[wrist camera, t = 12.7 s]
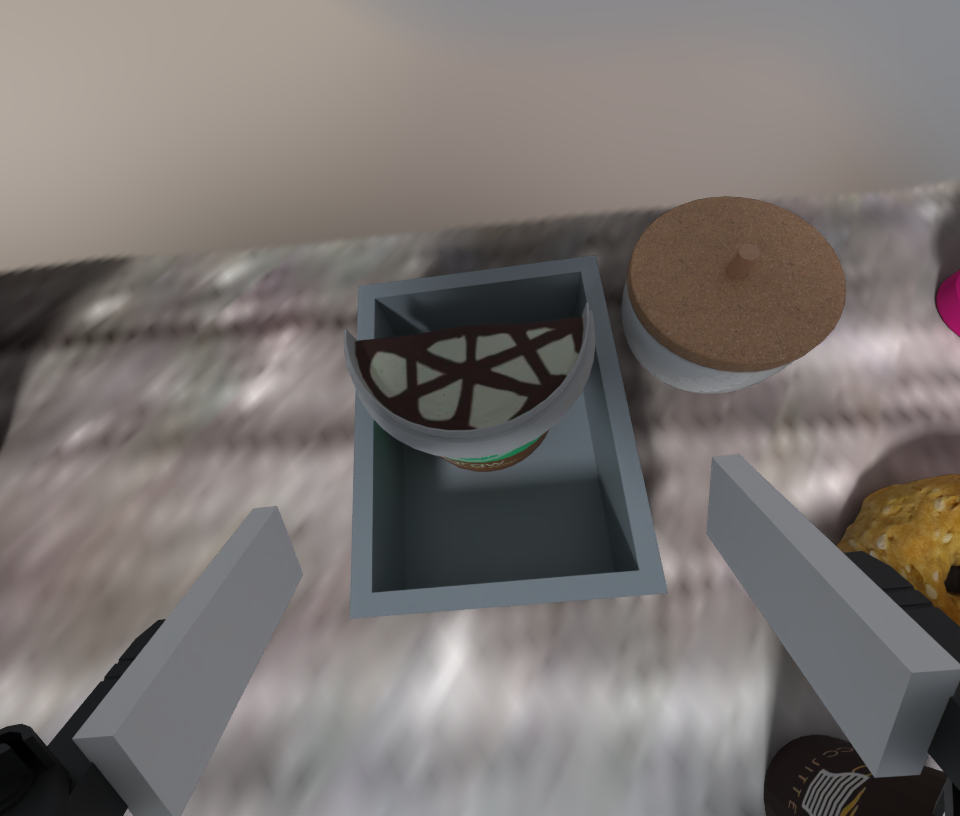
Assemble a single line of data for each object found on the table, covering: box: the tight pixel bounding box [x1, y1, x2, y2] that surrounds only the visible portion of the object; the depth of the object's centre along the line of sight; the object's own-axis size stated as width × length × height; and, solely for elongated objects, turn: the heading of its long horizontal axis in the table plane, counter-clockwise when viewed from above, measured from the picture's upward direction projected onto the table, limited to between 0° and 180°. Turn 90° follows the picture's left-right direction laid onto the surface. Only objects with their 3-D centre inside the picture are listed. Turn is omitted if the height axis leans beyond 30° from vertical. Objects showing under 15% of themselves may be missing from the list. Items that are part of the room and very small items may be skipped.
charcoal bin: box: [350, 255, 668, 619], centre depth 26 cm, size 14×18×7 cm
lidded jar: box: [622, 196, 846, 394], centre depth 26 cm, size 11×11×9 cm
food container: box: [344, 303, 596, 472], centre depth 24 cm, size 12×6×10 cm, turn 94°
